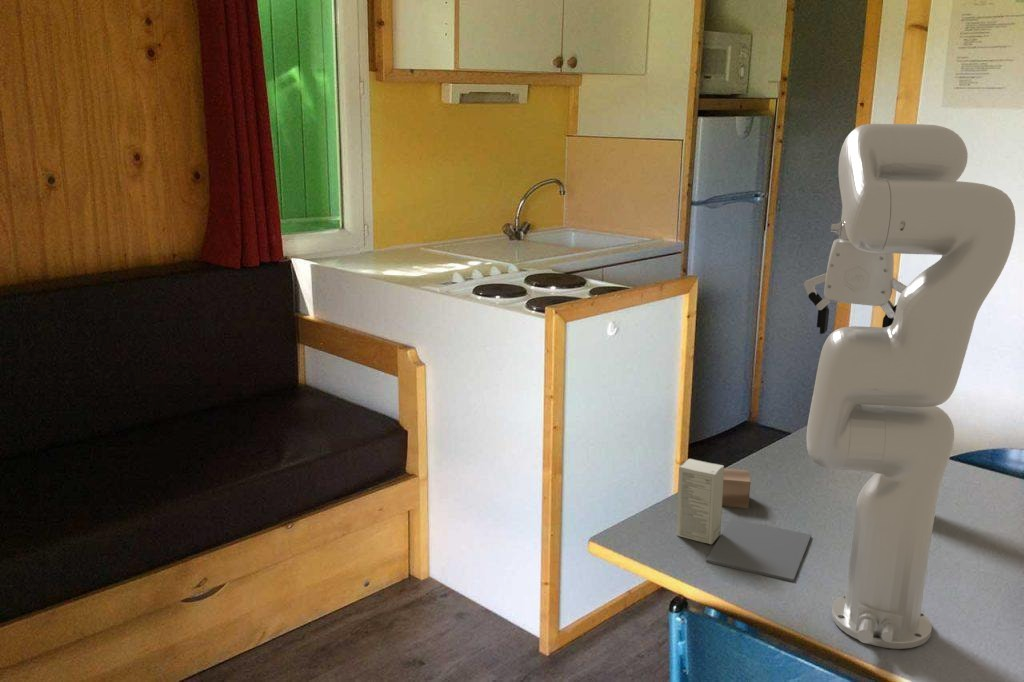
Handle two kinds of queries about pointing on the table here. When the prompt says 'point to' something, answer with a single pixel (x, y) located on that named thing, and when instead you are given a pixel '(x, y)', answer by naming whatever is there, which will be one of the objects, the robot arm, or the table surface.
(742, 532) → the mat
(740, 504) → the walnut block
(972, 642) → the table surface
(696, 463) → the skincare box
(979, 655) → the table surface
